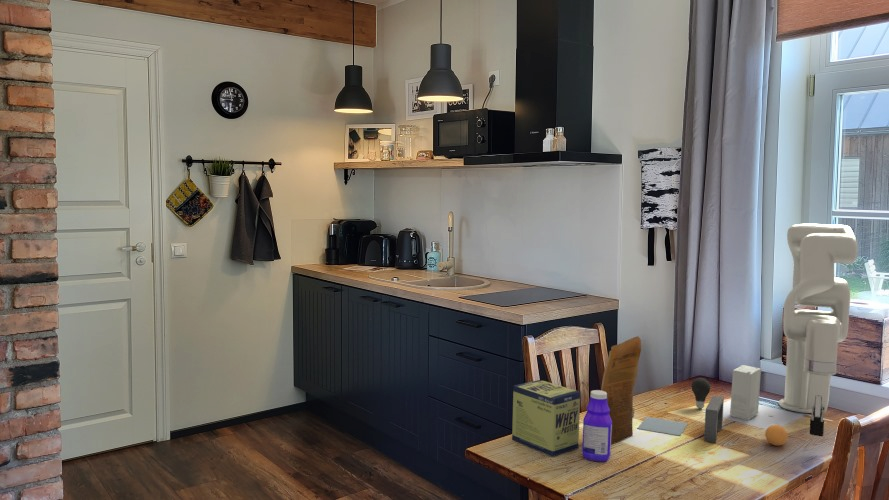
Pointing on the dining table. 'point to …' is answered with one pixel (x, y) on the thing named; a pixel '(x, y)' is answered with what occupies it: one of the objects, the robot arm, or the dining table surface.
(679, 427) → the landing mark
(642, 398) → the dining table surface
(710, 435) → the bridge
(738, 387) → the skincare box
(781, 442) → the ball
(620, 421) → the pancake mix bag
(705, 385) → the light bulb
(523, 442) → the protein box
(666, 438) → the dining table surface
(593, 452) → the bottle
